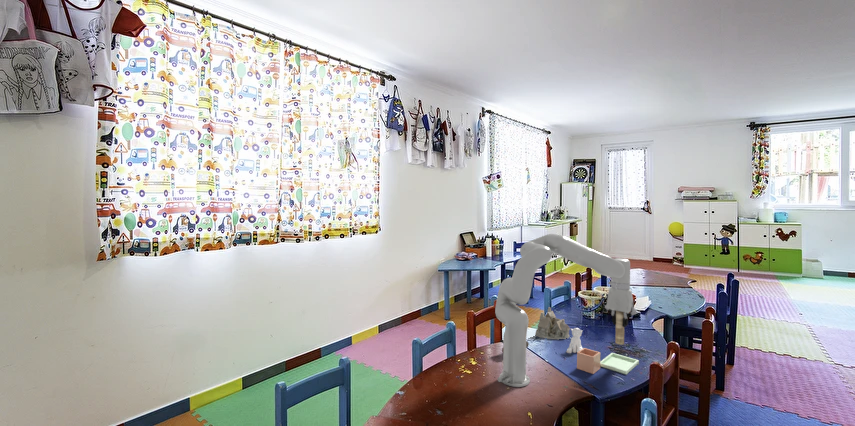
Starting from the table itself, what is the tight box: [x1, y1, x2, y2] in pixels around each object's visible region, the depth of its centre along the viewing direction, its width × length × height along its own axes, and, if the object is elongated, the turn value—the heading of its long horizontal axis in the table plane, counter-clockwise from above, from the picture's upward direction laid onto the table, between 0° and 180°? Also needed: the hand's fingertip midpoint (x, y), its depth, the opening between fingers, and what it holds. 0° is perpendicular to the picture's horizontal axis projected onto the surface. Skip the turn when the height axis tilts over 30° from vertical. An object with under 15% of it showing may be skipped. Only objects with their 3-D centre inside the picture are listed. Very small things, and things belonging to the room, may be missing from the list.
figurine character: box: [499, 339, 529, 353], centre depth 191 cm, size 7×8×15 cm
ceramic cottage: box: [534, 306, 571, 340], centre depth 213 cm, size 16×16×15 cm
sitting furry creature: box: [565, 327, 584, 354], centre depth 191 cm, size 10×9×12 cm
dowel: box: [614, 311, 625, 346], centre depth 175 cm, size 4×4×15 cm
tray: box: [600, 352, 640, 376], centre depth 176 cm, size 16×12×2 cm
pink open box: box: [576, 347, 601, 375], centre depth 172 cm, size 7×7×8 cm
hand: (619, 324), depth 175 cm, fingers closed on dowel, 3 cm apart
